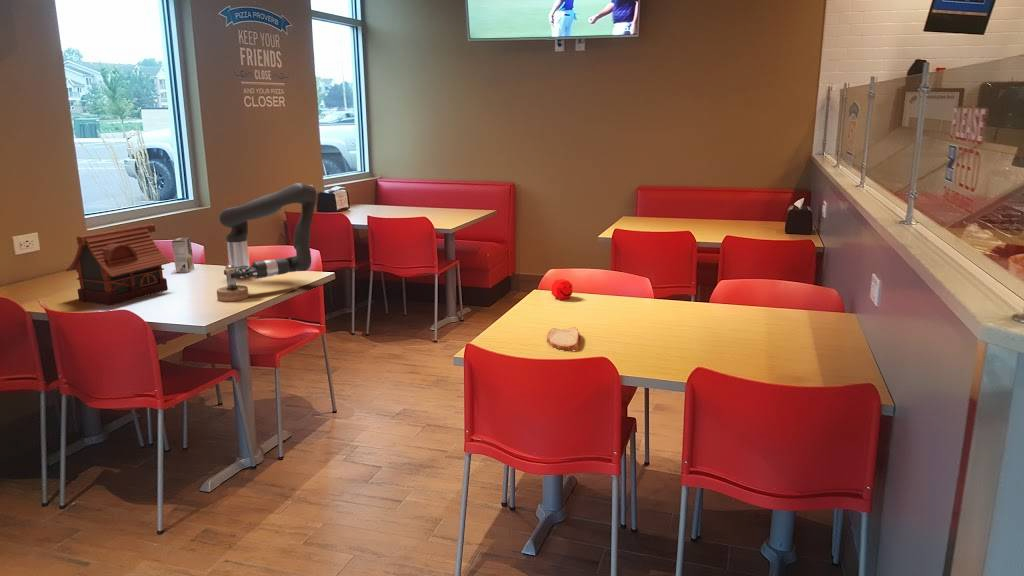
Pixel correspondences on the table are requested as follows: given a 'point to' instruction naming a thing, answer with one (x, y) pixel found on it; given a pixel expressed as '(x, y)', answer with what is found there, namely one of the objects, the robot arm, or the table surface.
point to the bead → (232, 293)
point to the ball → (561, 289)
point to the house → (119, 265)
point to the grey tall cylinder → (230, 282)
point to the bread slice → (564, 339)
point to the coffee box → (183, 254)
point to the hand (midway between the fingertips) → (227, 274)
